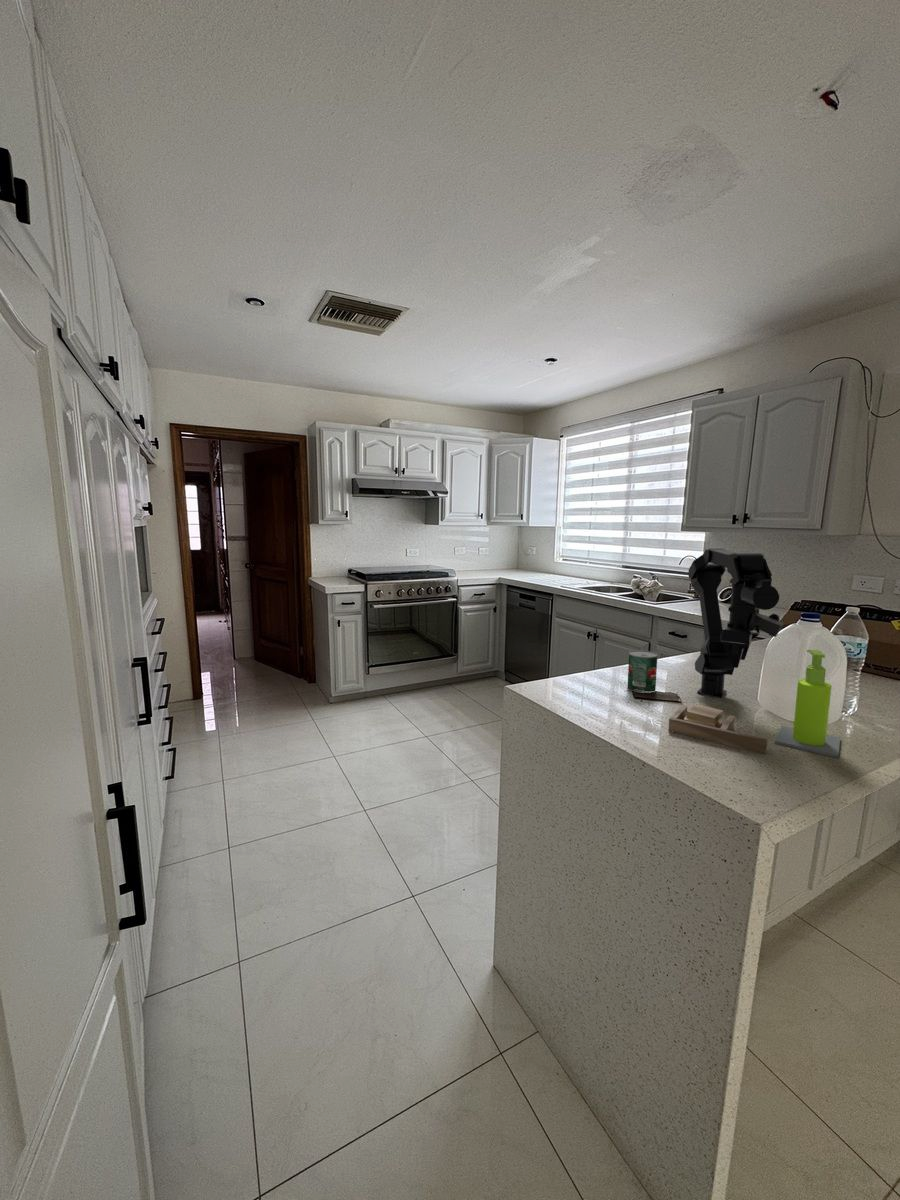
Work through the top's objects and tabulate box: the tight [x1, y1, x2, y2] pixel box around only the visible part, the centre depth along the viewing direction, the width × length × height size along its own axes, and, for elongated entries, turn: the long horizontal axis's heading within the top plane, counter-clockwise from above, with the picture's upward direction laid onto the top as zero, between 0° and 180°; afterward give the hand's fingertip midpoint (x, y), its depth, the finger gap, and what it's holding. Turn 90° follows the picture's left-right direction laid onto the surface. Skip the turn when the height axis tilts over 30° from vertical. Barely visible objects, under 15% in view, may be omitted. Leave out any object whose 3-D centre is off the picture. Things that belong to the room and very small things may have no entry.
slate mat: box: [774, 725, 841, 759], centre depth 109 cm, size 11×11×1 cm
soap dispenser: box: [792, 649, 832, 746], centre depth 108 cm, size 6×7×20 cm
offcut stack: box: [684, 704, 724, 728], centre depth 116 cm, size 8×7×4 cm
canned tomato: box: [626, 649, 658, 692], centre depth 144 cm, size 8×8×11 cm
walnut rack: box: [668, 705, 768, 755], centre depth 113 cm, size 11×20×3 cm, turn 50°
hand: (738, 663), depth 125 cm, fingers open, 9 cm apart
